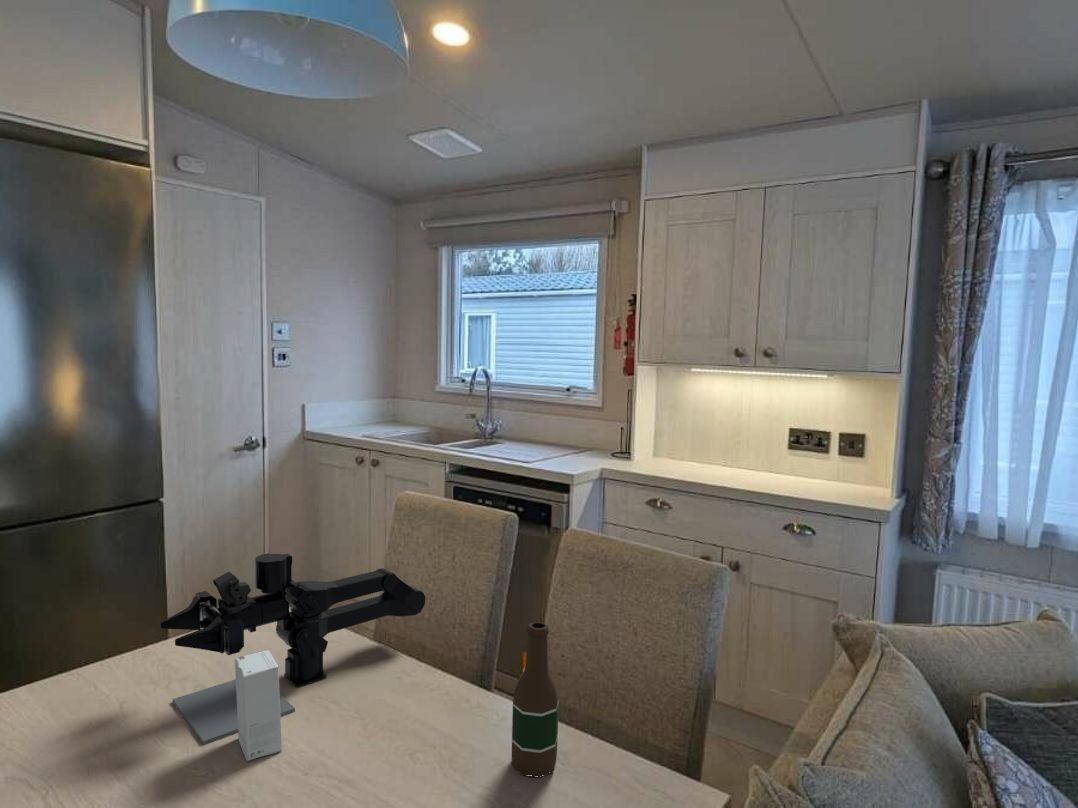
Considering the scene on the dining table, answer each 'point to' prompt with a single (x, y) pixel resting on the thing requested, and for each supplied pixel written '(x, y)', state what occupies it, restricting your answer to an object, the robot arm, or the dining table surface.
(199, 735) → the mat
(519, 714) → the beer bottle
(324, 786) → the dining table surface
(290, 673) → the robot arm
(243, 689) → the skincare box
